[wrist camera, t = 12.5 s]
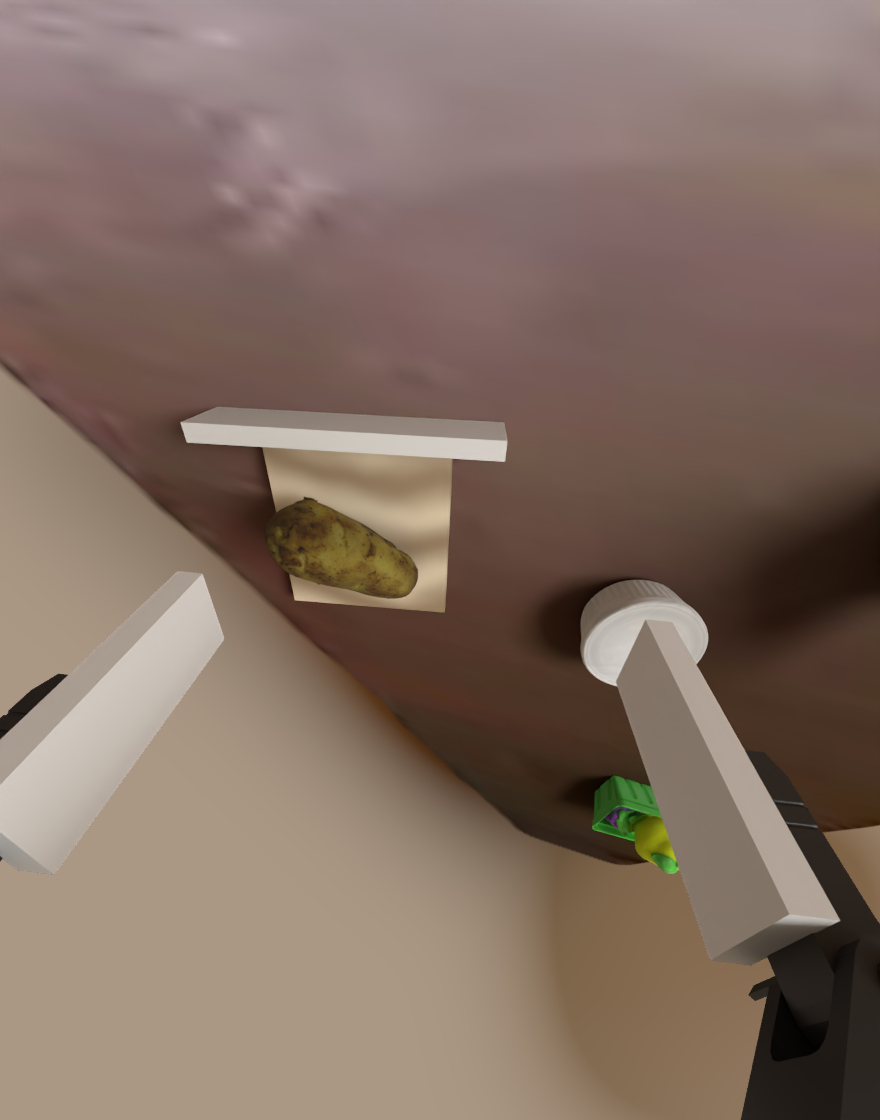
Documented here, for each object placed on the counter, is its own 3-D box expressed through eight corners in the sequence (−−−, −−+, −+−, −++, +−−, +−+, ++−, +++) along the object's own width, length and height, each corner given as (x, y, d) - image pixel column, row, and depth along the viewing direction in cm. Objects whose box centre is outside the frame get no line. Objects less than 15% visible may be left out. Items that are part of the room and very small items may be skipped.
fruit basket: (582, 792, 62) (600, 882, 52) (614, 763, 57) (641, 856, 47) (648, 811, 63) (677, 902, 53) (685, 784, 58) (725, 879, 49)
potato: (364, 598, 42) (342, 656, 36) (278, 500, 37) (232, 546, 30) (431, 567, 39) (421, 622, 33) (348, 455, 34) (315, 494, 27)
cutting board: (269, 436, 35) (261, 441, 34) (453, 447, 34) (452, 452, 33) (300, 591, 44) (294, 600, 43) (445, 603, 44) (444, 612, 42)
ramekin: (604, 665, 47) (617, 704, 42) (551, 604, 43) (558, 640, 38) (703, 622, 42) (729, 660, 38) (654, 549, 38) (677, 582, 34)
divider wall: (217, 406, 34) (180, 422, 30) (504, 422, 33) (507, 441, 29) (222, 424, 35) (186, 442, 31) (502, 440, 34) (504, 461, 29)
